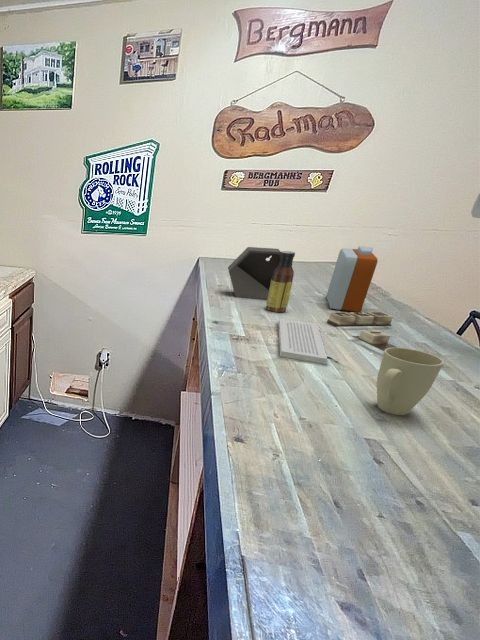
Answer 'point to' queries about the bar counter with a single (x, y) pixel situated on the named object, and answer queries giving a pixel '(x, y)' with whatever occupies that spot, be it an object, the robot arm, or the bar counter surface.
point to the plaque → (301, 341)
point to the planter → (254, 272)
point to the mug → (405, 378)
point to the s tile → (362, 318)
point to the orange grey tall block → (351, 279)
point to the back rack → (348, 319)
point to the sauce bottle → (281, 283)
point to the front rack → (375, 339)
